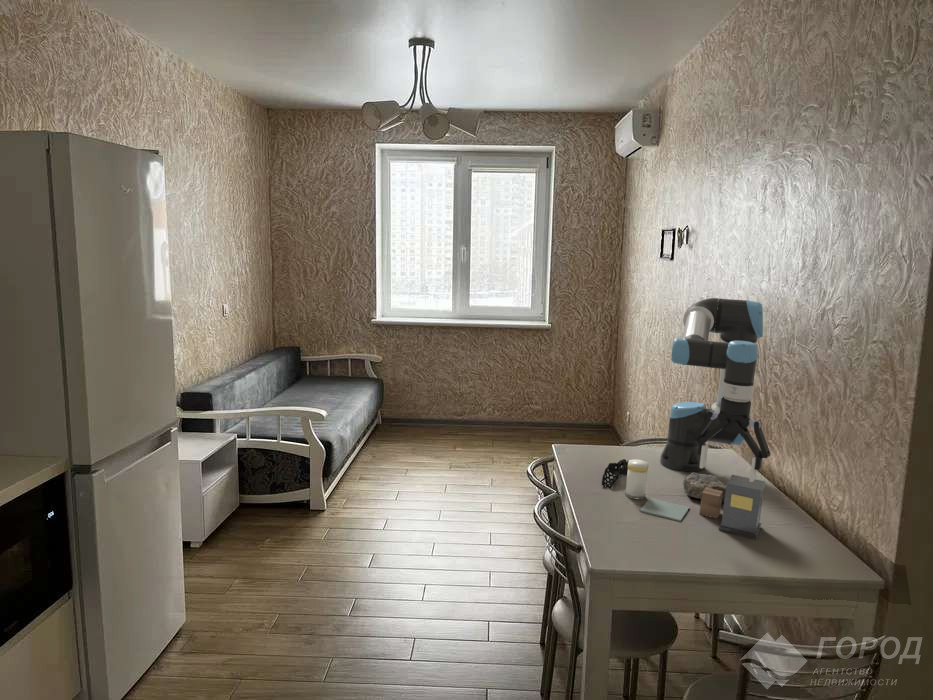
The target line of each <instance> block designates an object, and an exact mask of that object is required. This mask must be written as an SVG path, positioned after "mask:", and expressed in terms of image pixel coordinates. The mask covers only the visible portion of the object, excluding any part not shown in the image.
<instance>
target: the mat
mask: <svg viewBox="0 0 933 700" xmlns="http://www.w3.org/2000/svg"><path fill="white" fill-rule="evenodd" d="M688 509H689V510H690V506H686V505H682V504H677V503H674V502H669V501H665V500H661V499H657V498H653V497H650V498H649V499H648V500H647V501H646V502H645V503H644V505H643V506H641V508H640V509H639V512H641V513H645V514H649V515H653V516H656V517H661V518H665V519H668V520H672V521H676V522H682V520H683V518H685V516H686V514H688V511H689V510H688Z"/></svg>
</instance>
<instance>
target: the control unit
mask: <svg viewBox="0 0 933 700" xmlns="http://www.w3.org/2000/svg"><path fill="white" fill-rule="evenodd" d="M749 480H750V477H745V476H741V475H736V474H731V476H730V477H729V479H728V480H727V482H726V484H725V485H726V493H725V501H724V502H723V503H724V504H723V511H722V519H721V522H720V524H719V525H718V531H722V532H725V533H730V534H734V535H738V536H741V537H745V538H749V539H753V538H754V539H753V540H757V539H758V535H759V534H760V531H761V529H762V528H761V527H762V523H761V521H760V520H761V514H762V506H763V500H764V493H765V484H766V481H765V480H761V479H755V480H754V481H753V482H750V481H749Z"/></svg>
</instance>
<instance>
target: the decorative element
mask: <svg viewBox="0 0 933 700" xmlns="http://www.w3.org/2000/svg"><path fill="white" fill-rule="evenodd" d="M628 462H629V460H627V459H625V458H623V459H620V460H619V461H618V462H609V463H608V465H607V467H605V469H604V472H603V474H602V478H601V486H603V488H604V487H605V486H606V487H609V488H608V489H610V488H612V487H613V486H614V485H615V484H616V482H617V480H619V477H620V475H625V474H627V472H628ZM611 477H612V478H611ZM608 485H610V486H608ZM606 487H605V488H606Z"/></svg>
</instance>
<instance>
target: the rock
mask: <svg viewBox="0 0 933 700" xmlns="http://www.w3.org/2000/svg"><path fill="white" fill-rule="evenodd" d="M682 485H683V489H684V491H685V493H686V494H687V496H689V497H690V498H695V499H700V500H701V498H702V492H703V490H704V489H705V488H710V489H714V490H719V491H723V493H722V501H721V503H724V501H725V493H726V485H727V484H724V483H723V482H722V481H720V480H719V478H718V477H717V475H713V474H704V473H697V472H696V471H692V472H691V473H690V474H688V475H687V476H685V477H684V479H683V482H682Z"/></svg>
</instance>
